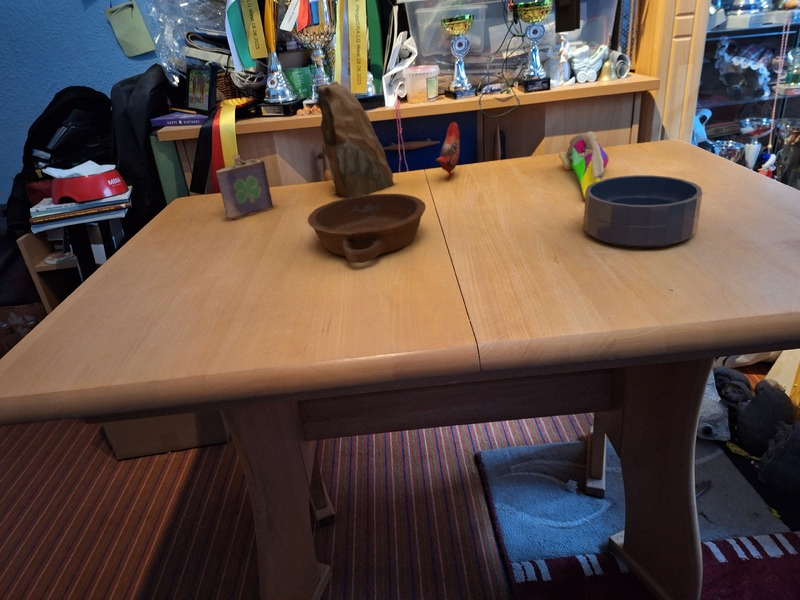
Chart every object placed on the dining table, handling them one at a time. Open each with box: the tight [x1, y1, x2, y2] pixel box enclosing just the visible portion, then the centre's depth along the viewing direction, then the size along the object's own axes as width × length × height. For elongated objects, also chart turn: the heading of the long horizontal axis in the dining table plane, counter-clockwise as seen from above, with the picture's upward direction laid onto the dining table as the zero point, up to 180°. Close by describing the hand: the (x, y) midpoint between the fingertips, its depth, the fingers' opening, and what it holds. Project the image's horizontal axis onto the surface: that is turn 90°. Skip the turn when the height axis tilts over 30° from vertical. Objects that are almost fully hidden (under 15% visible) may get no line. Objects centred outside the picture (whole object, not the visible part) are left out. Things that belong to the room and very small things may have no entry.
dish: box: [307, 193, 427, 264], centre depth 84 cm, size 18×22×5 cm
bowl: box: [583, 174, 703, 249], centre depth 76 cm, size 14×14×6 cm
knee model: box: [558, 131, 610, 199], centre depth 100 cm, size 9×8×25 cm
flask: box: [215, 154, 274, 221], centre depth 102 cm, size 9×3×11 cm, turn 129°
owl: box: [315, 81, 395, 199], centre depth 108 cm, size 13×13×20 cm
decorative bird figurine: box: [435, 121, 460, 180], centre depth 109 cm, size 3×18×10 cm, turn 163°
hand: (568, 31), depth 86 cm, fingers open, 13 cm apart
